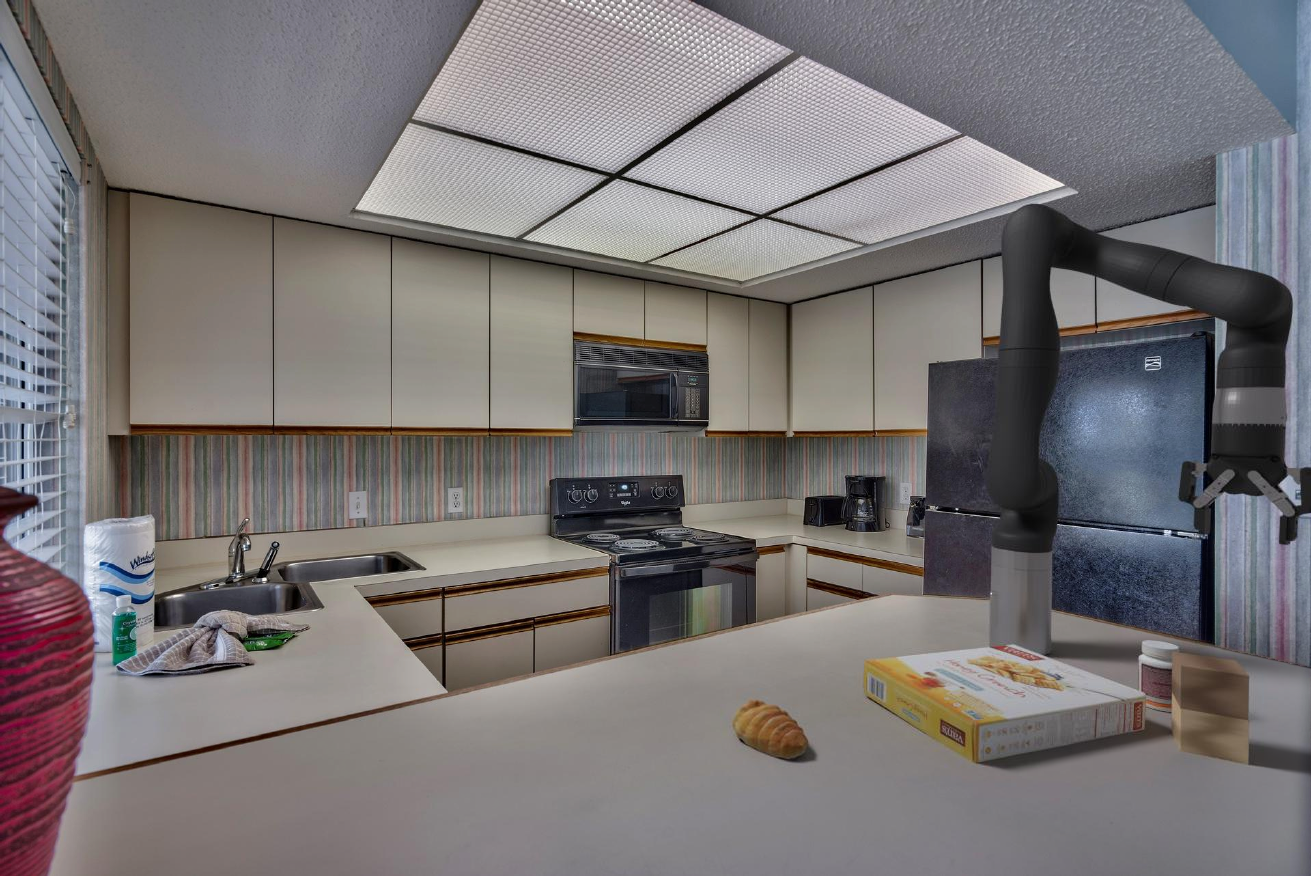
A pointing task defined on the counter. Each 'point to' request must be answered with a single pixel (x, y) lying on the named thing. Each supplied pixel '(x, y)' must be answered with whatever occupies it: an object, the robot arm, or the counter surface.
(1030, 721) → the cereal box
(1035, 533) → the robot arm
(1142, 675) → the pill bottle
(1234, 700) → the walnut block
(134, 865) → the counter surface
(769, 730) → the pastry
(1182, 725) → the maple block
